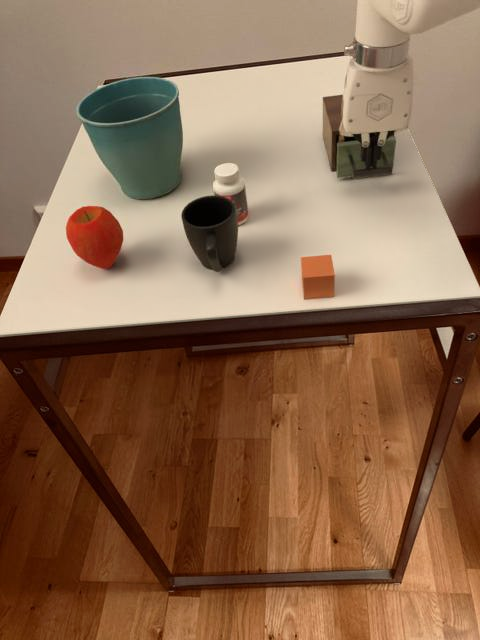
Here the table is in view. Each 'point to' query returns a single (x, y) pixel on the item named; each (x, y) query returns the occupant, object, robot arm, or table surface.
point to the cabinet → (332, 126)
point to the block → (317, 276)
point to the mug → (212, 230)
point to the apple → (95, 235)
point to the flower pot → (137, 133)
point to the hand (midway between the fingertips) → (369, 163)
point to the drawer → (351, 158)
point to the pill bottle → (232, 188)
